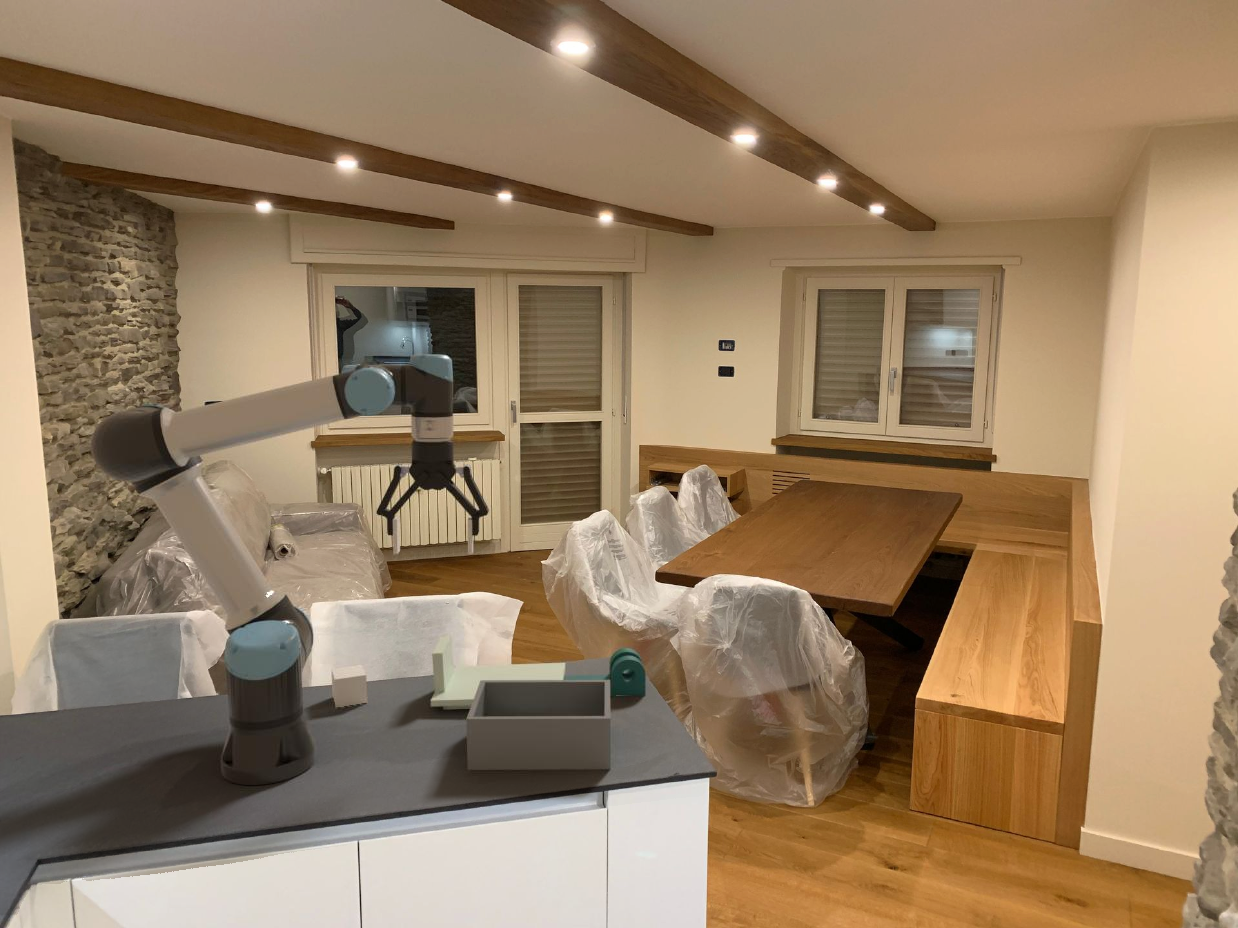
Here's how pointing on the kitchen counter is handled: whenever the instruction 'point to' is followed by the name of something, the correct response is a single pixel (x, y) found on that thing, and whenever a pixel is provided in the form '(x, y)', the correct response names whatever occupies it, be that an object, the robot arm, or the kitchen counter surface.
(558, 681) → the tub
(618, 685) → the bracket
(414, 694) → the kitchen counter surface
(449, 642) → the pale green l-shaped plate
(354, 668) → the white cube
